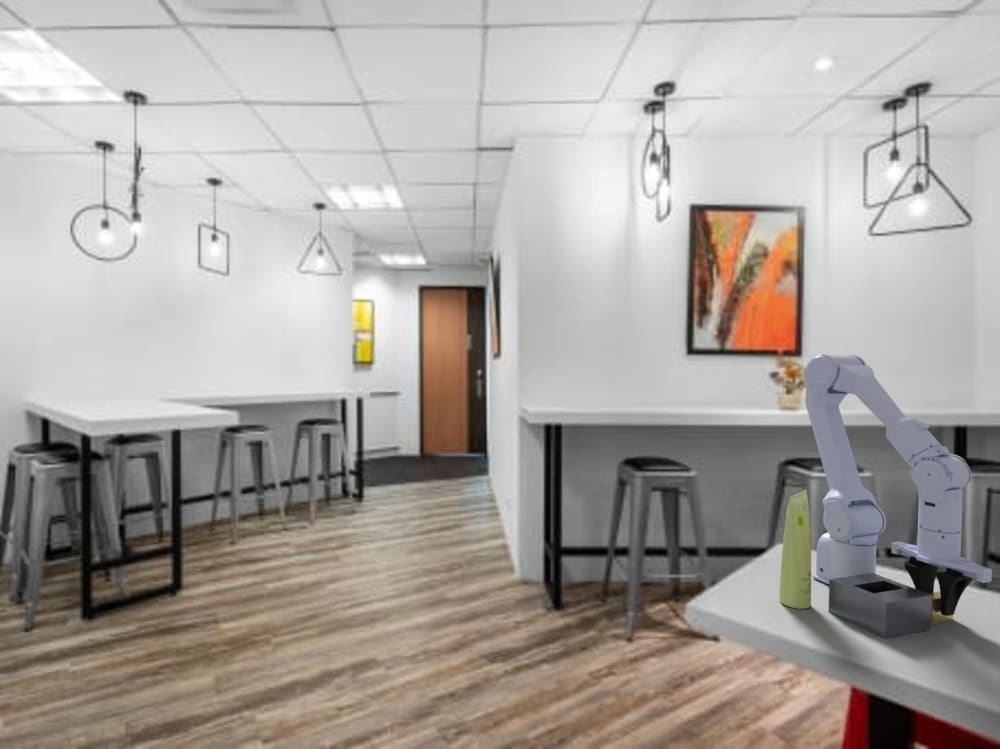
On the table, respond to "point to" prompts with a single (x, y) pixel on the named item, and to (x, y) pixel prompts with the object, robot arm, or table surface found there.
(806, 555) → the tube
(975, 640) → the table surface
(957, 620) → the table surface
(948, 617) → the block
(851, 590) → the box
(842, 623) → the table surface
